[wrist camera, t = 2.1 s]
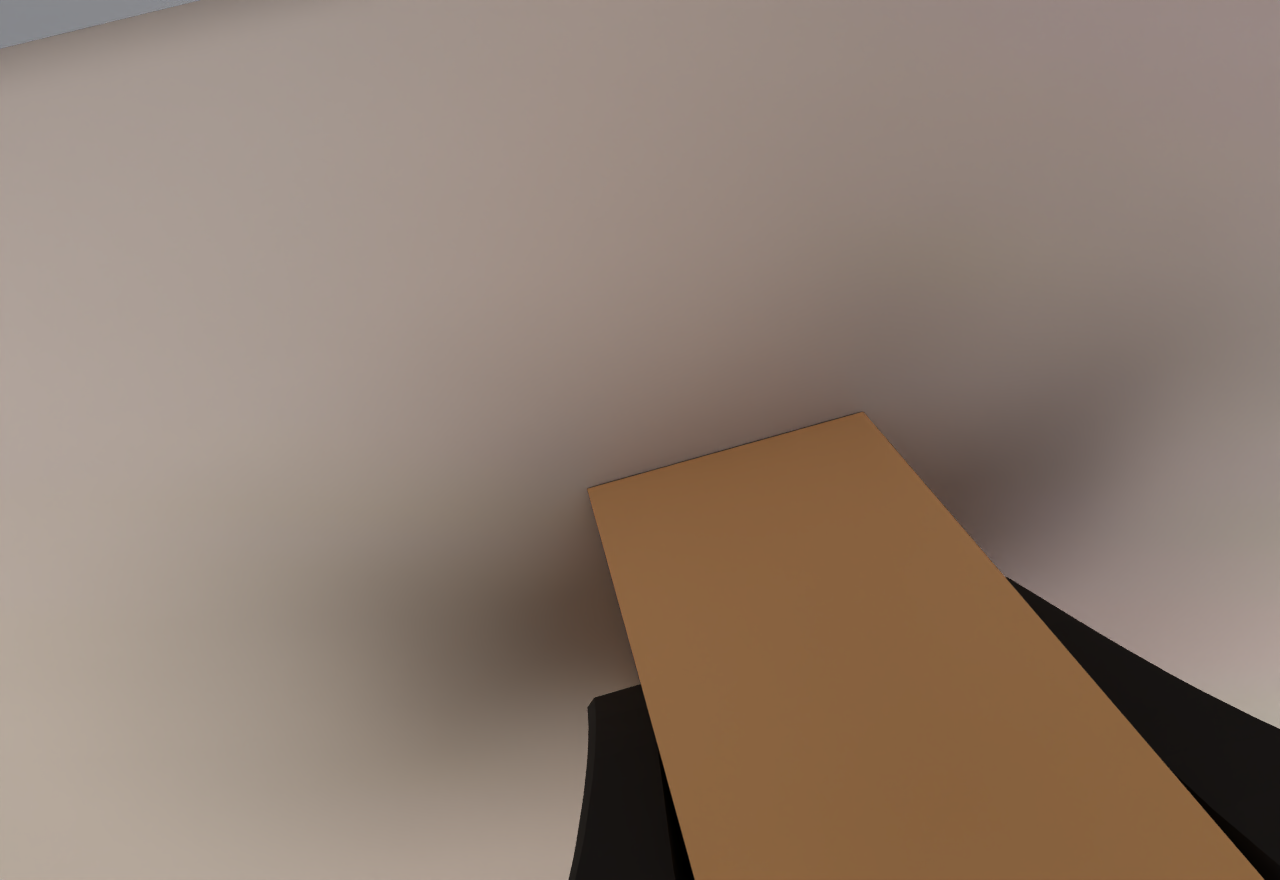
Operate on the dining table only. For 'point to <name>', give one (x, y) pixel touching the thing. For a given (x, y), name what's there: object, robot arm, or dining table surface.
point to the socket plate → (66, 16)
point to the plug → (872, 684)
